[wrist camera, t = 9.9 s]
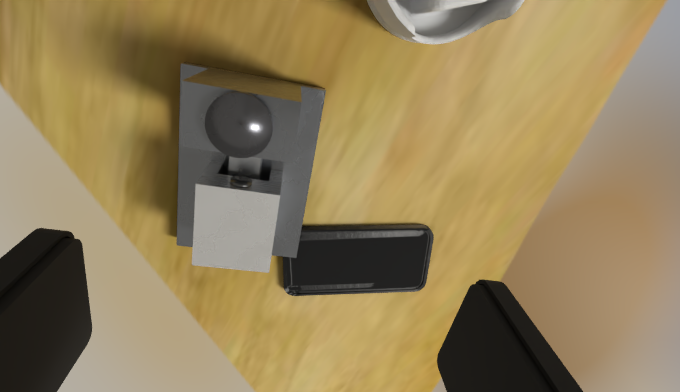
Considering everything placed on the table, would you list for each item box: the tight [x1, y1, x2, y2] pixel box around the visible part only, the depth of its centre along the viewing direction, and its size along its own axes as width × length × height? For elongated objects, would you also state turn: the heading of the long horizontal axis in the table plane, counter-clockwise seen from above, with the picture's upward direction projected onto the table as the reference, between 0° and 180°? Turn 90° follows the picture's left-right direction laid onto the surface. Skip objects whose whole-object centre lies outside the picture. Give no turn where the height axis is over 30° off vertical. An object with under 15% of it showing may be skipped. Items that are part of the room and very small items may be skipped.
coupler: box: [177, 62, 326, 258], centre depth 28 cm, size 16×11×9 cm
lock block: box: [192, 161, 283, 273], centre depth 30 cm, size 6×7×5 cm
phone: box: [283, 225, 433, 296], centre depth 37 cm, size 8×1×15 cm
